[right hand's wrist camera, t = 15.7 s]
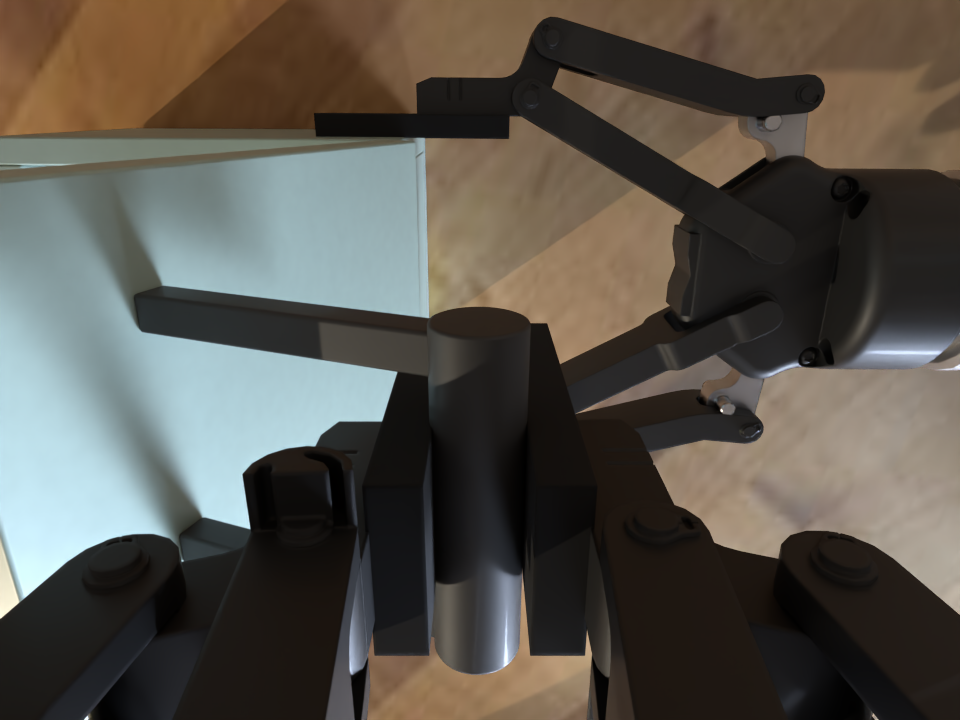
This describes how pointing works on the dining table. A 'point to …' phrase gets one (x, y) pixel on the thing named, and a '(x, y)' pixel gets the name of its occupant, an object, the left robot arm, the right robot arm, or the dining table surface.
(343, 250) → the lid
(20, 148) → the chest
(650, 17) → the dining table surface
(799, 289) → the left robot arm
